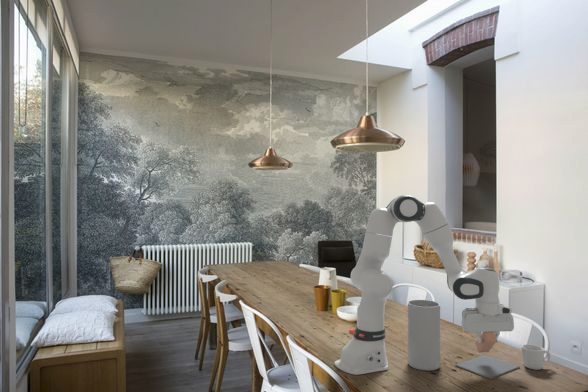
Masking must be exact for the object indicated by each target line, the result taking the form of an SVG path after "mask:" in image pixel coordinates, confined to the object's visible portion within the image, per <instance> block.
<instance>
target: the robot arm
mask: <svg viewBox="0 0 588 392" xmlns="http://www.w3.org/2000/svg"><path fill="white" fill-rule="evenodd" d="M411 222H415V223H416V224H417V225H418V227H419V228H420V230H421V233H422V235H423V237H424V239H425V240H426V242H427V243H428V245H429V246H430V248H431V249H432V250H433V251H434V252H435V253H436V254H437V256H438V257H439V259H440V262H441V264H442V266H443V268H444V270H445V272H446V284H447V288H448V289H449V290H450V291H451V293H453V295H455V296H456V297H457V298H459V299H460V300H475V303H474V304H475V306H474V307H471V308H470V307H465V309H463V310H462V311H461V317H462V318H461V325H460V327H461V329H462V330H463V331H464V332H466V333H475V335H476V336H477V340H478V342H479V343H484V339H483V338H482V337H481V335H482V333H483V332H494V333H495V336H496V338H497V339H498V338H499V337H500V335H501V334H500V333H501V332H502V333H503V332H513V330H514V329H515V321H514V316H513V314H512V313H513V309H512V308H510V307H509V306H507V305H504V304H502V303H500V298H499V293H500V277H499V275H498V272H497V271H496V270H495V269H494V268H491V267H487V266H477V267H476V268H475V269H473V270H471V271H469V272H466V270H465V269H463V267H461V265H460V262H459V261H458V258H457V256H456V254H455V252H454V247H453V244H454V241H455V240H454V239H455V238H454V234H453V231H452V227H451V226H450V223H449V221H448V220H447V218H446V215H445V214H444V213H443V211H442V210H441V208H440V207H439V206H438V205H437V204H436V203H435V202H432V201H427V202H424V203H423V202H422V201H420V200H419V199H417V197H414V196H412V195H409V194H408V195H403V194H402V195H399V196H397V197H395V198H394V199H392V200H391V201H390V202H389V203H388V205H387V206H386V207H376V208H374V209H373V210H372V211H371V213H370V214H369V218H368V221H367V224H366V228H365V234H364V239H363V244H362V249H361V252H360V255H359V257H358V260H357V263H356V265H355V267H354V268H352V270H351V272H350V281H351V283H352V284H353V286H354V287H355V288H356V289H357V290H359V291H361V298H360V301H359V305H358V306H357V308H356V327H355V329H352V328H349V330H348V334H350V335H352V336H353V337H352V338H351V339H350V340H349V342H348V343H346V344H345V346H344V347H342V349H341V350H340V356H339V359H337V360H335V361H334V365H335V367H336V368H338V369H339V370H341V371H342V372H345V373H347V374H351V375H354V376H355V375H356V376H357V375H358V376H359V375H363V374H370V373H375V372H381V371H388V370H389V361H388V357H387V350H386V343H385V338H386V328H385V307H386V304H387V300H388V297H389V295H390V294H391V293H392V291H393V287H394V283H393V280H392V278H391V277H390V276H389V275H388V274H387V273H386V272H385V271H384V270H381V269H382V267H383V264H384V262H385V261H386V259H387V258H388V257H389V256H390V253H391V252H390V251H391V247H392V246H391V245H392V242H393V241H392V240H393V235H394V229H395V227H396V225H397V223H411ZM496 343H498V341H497V342H496ZM496 343H495V344H496Z"/></svg>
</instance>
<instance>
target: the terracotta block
mask: <svg viewBox="0 0 588 392" xmlns="http://www.w3.org/2000/svg"><path fill="white" fill-rule="evenodd" d="M480 336H481V337H482V338H483V339H484V343H479V342H478V339H477V340H476V341H475V346H476V349H477V352H478V353H489V352H490V350H491V349H492V348H493V347H494V345H496V342H497V343H498V338H496V336H495V333H494V332H481V335H480Z"/></svg>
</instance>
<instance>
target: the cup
mask: <svg viewBox="0 0 588 392" xmlns="http://www.w3.org/2000/svg"><path fill="white" fill-rule="evenodd" d="M521 352H522V353H521V354H522V360H523V361H522V362H523V366H524V367H526V368H527V369H529V370H534V371H539V370H542V369H543V367H544V363H548V362H549V361H550V360H551V353H550V352H549V350H546V349H545V348H544V347H542V346H540V345H537V344H523V345H521ZM545 354H546V358H545Z"/></svg>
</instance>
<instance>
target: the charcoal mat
mask: <svg viewBox="0 0 588 392" xmlns="http://www.w3.org/2000/svg"><path fill="white" fill-rule="evenodd" d="M455 367H457V368H459V369H462V370H464V371H468V372H470V373H473V374H475V375H479V376H481V377H483V378H486V379H489V380H492V379H495V378H497V377H500V376H502V375H505V374H507V373H510V372H513V371H516V370H518V369H520V365H517V364H514V363H511V362H508V361H505V360H502V359H498V358H497V357H496V358H495V357H493V356H489V355H487V354H483V355H481V356H476V357H474V358H471V359H468V360H466V361H462V362H459V363H457V364H455Z"/></svg>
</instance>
